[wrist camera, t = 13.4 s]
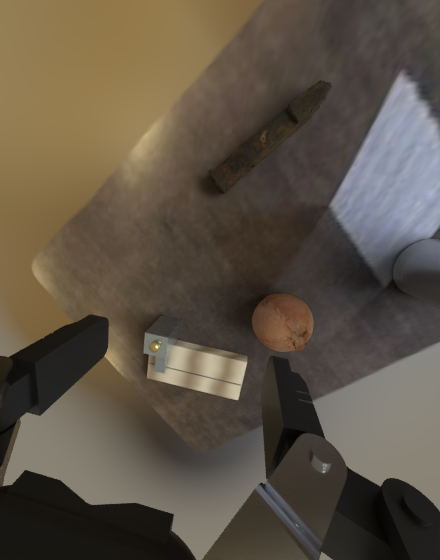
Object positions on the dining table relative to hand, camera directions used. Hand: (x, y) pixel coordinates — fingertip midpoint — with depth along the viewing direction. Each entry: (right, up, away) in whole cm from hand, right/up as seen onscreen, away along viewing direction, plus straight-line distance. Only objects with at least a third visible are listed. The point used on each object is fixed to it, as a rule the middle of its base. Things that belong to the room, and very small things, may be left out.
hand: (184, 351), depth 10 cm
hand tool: (+9, +24, +22) cm, 34 cm away
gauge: (-9, -9, +33) cm, 35 cm away
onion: (+12, -2, +28) cm, 31 cm away
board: (-3, -14, +34) cm, 36 cm away
